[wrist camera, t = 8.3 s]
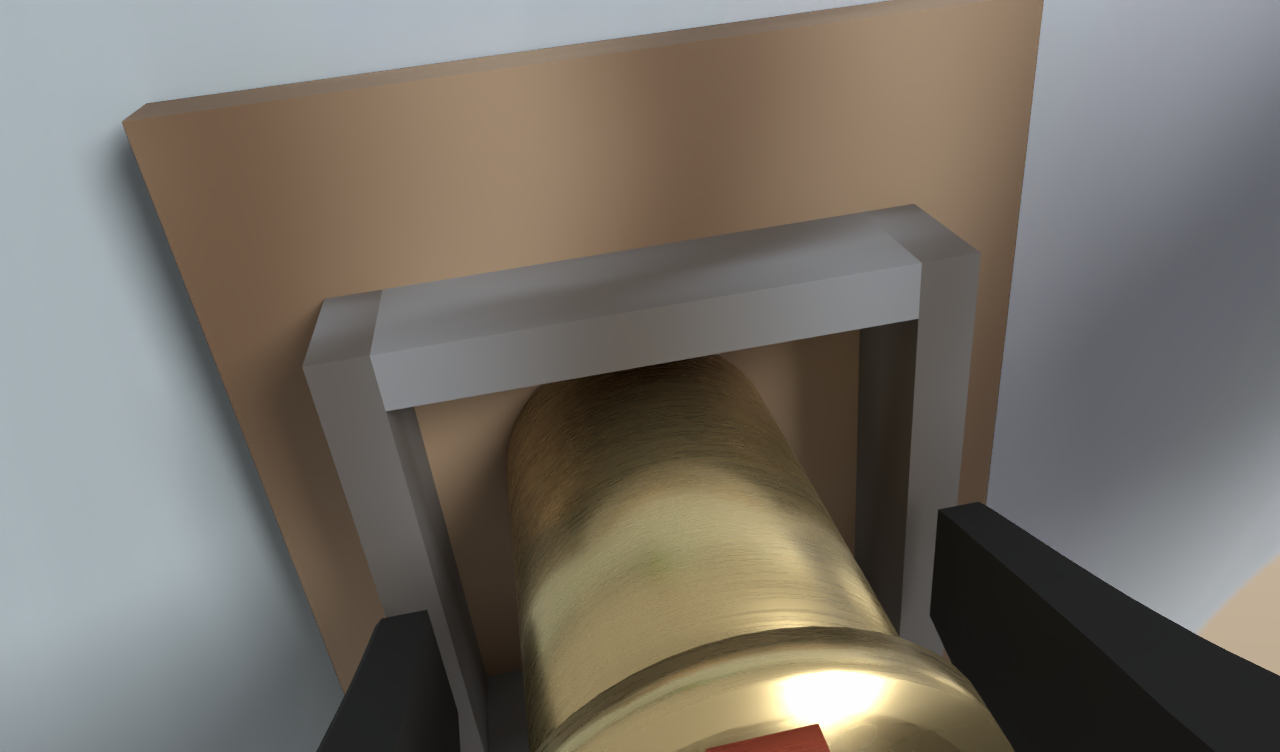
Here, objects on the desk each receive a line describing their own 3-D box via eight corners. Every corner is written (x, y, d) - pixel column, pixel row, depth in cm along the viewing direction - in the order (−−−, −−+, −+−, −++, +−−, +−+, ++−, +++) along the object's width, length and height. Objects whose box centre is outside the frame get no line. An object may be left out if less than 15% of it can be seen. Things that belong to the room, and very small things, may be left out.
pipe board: (1005, -16, 13) (1140, 12, 10) (936, 724, 21) (1002, 843, 18) (146, 103, 12) (58, 168, 9) (419, 837, 20) (412, 982, 17)
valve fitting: (792, 288, 14) (1114, 696, 7) (797, 549, 16) (1036, 1025, 10) (447, 349, 13) (441, 854, 6) (511, 608, 16) (554, 1154, 9)
